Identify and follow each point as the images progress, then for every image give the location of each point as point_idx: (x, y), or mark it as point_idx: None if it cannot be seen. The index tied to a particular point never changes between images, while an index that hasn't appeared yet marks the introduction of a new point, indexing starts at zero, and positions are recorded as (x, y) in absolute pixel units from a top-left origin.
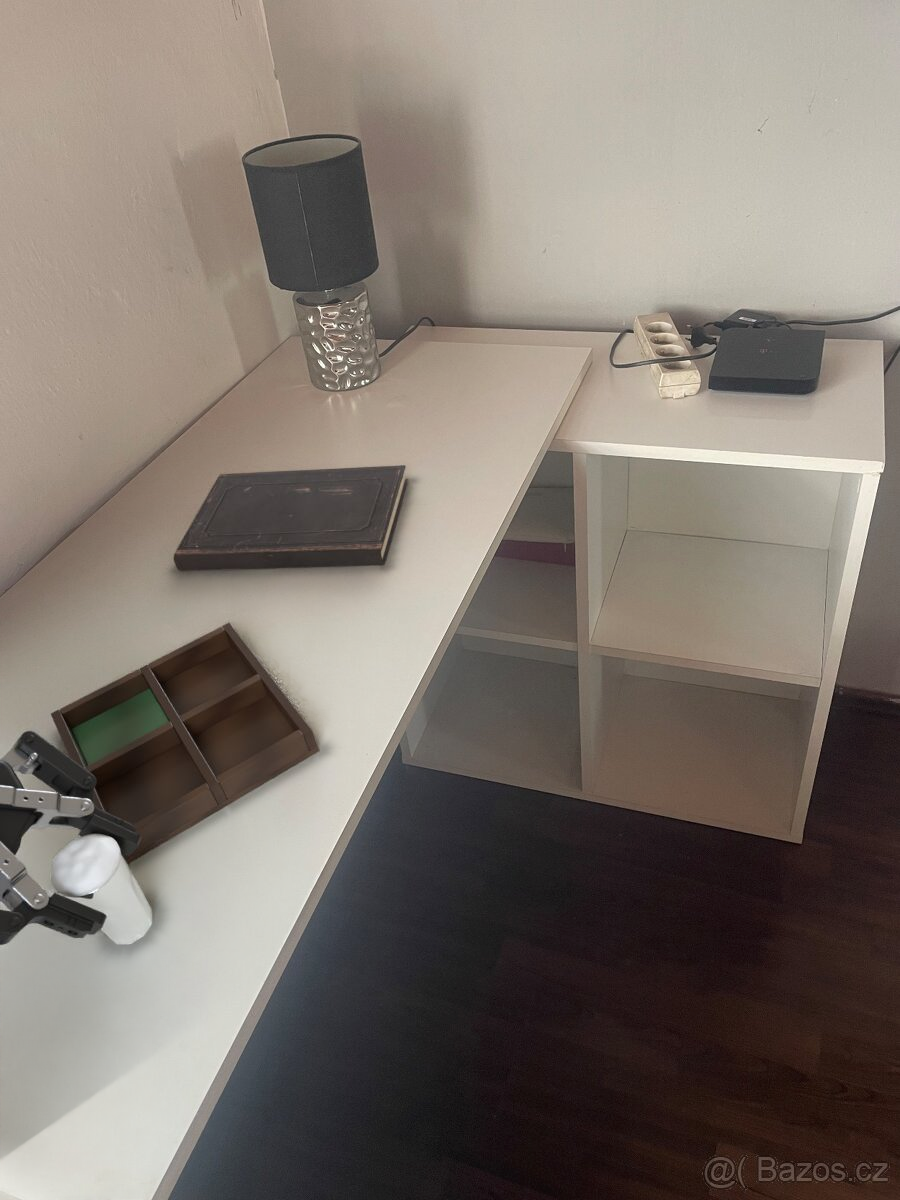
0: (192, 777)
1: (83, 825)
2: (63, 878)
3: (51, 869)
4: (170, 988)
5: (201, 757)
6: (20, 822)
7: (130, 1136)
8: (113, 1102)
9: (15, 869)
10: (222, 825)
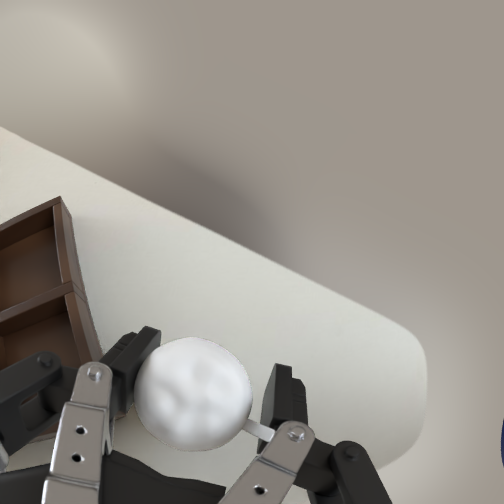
0: (43, 329)
1: (119, 394)
2: (225, 420)
3: (193, 449)
4: (285, 351)
5: (32, 299)
6: (135, 479)
7: (399, 362)
8: (377, 384)
9: (271, 471)
10: (108, 305)
